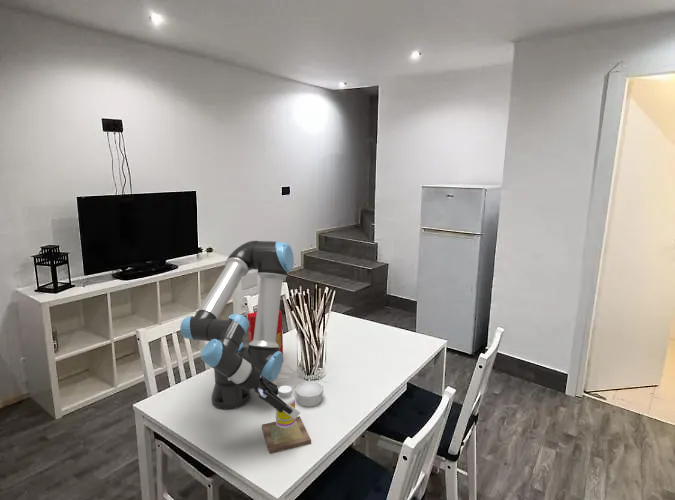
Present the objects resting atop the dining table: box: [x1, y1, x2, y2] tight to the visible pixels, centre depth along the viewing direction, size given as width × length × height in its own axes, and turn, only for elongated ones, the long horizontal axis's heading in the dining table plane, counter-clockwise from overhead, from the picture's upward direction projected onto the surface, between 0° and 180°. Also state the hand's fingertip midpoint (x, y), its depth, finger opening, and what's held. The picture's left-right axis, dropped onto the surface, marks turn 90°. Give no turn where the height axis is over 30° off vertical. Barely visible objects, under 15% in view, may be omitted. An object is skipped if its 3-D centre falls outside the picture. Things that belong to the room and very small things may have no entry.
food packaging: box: [247, 309, 284, 355], centre depth 192 cm, size 15×5×25 cm, turn 118°
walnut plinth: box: [261, 415, 312, 454], centre depth 143 cm, size 14×14×2 cm
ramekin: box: [294, 381, 324, 408], centre depth 164 cm, size 11×11×5 cm
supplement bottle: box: [275, 385, 296, 428], centre depth 140 cm, size 7×7×13 cm
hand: (294, 409), depth 142 cm, fingers closed on supplement bottle, 7 cm apart
